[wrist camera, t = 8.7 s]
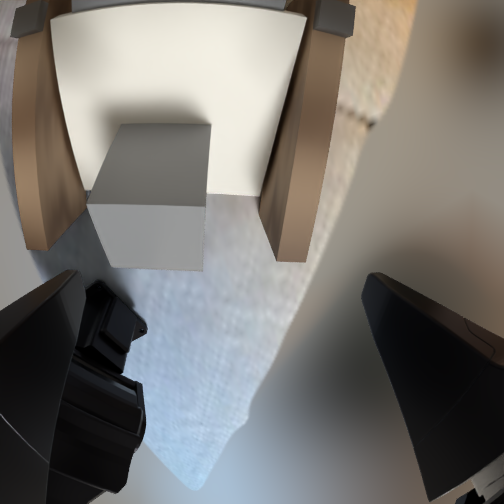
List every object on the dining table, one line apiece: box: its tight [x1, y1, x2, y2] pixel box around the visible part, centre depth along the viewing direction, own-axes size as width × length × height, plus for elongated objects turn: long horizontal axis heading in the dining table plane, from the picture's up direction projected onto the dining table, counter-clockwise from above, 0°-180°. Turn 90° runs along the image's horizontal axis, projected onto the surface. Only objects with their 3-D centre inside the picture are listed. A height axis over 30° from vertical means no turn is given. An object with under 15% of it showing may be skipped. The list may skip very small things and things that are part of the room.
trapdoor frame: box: [10, 0, 356, 262], centre depth 14 cm, size 15×16×7 cm
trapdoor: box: [50, 0, 307, 196], centre depth 14 cm, size 14×12×2 cm
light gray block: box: [86, 123, 212, 271], centre depth 15 cm, size 5×5×6 cm
